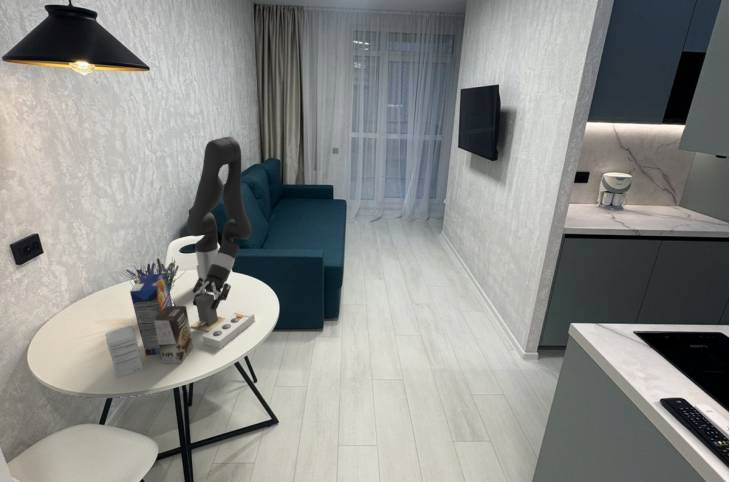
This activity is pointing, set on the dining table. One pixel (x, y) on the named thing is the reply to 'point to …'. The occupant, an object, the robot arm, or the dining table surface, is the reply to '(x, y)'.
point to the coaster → (206, 328)
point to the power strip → (228, 329)
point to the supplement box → (124, 351)
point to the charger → (206, 309)
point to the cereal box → (150, 307)
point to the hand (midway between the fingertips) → (203, 307)
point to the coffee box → (174, 334)
